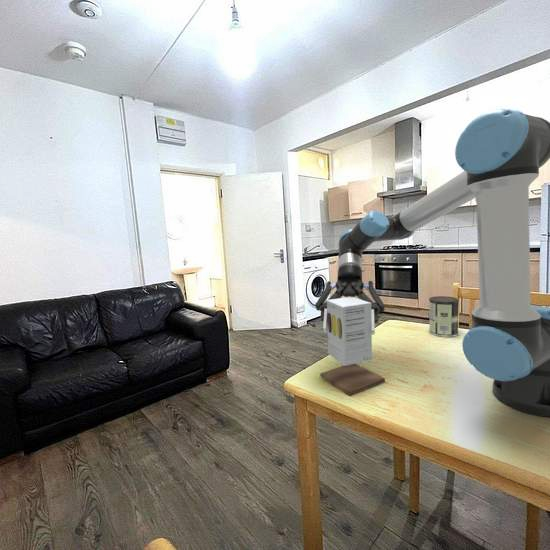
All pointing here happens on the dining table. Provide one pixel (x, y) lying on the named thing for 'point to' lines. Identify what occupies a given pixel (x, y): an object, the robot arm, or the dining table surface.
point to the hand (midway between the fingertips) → (348, 331)
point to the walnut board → (352, 378)
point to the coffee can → (444, 316)
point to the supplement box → (349, 330)
